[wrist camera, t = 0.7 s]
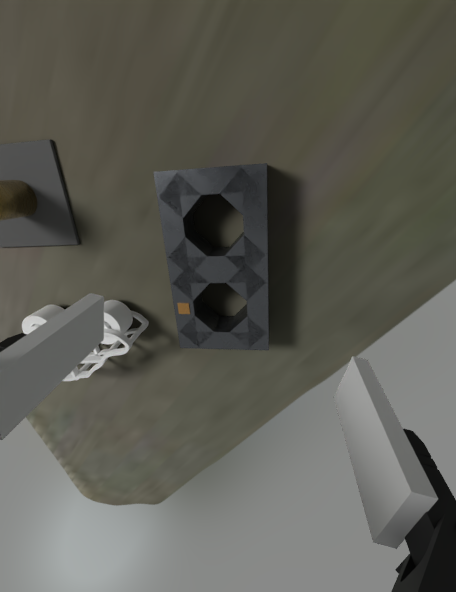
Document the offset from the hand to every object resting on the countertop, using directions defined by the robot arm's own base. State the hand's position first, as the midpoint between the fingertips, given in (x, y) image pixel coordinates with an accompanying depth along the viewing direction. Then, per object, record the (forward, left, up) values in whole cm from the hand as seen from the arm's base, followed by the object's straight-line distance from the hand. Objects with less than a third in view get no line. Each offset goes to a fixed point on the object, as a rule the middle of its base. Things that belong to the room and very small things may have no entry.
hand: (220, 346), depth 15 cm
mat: (-7, -33, -27) cm, 43 cm away
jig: (+3, -4, -27) cm, 27 cm away
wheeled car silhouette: (+14, -28, -27) cm, 41 cm away
